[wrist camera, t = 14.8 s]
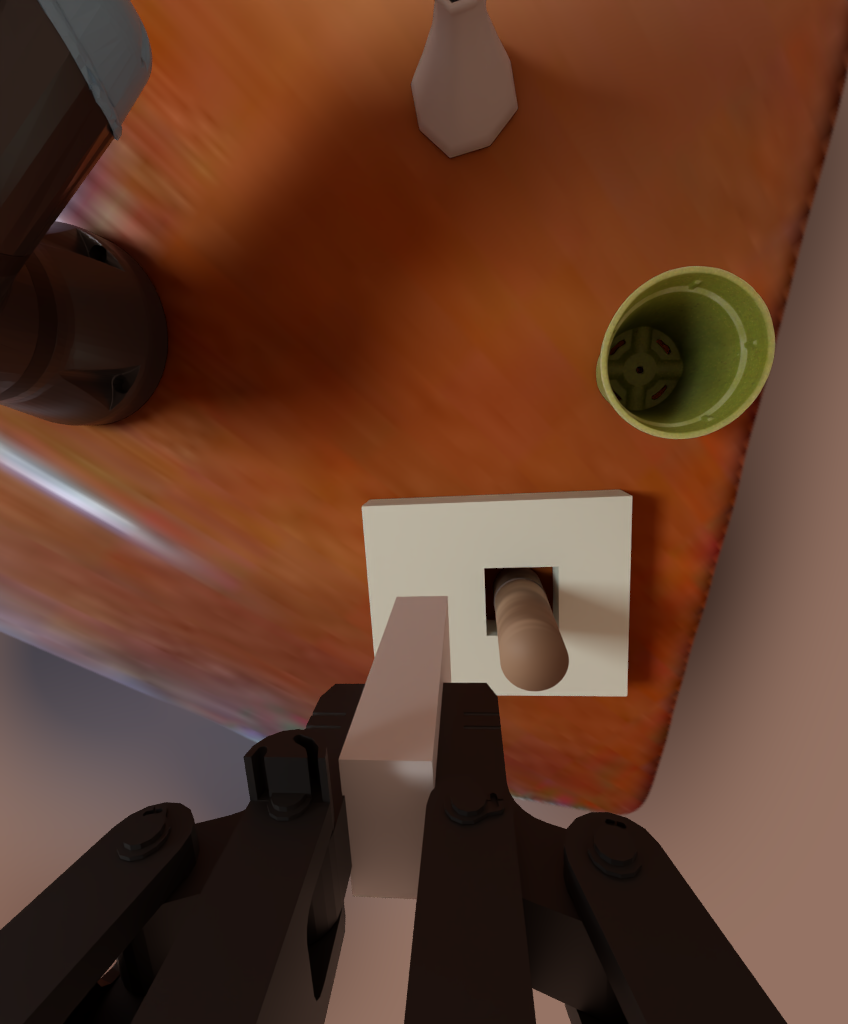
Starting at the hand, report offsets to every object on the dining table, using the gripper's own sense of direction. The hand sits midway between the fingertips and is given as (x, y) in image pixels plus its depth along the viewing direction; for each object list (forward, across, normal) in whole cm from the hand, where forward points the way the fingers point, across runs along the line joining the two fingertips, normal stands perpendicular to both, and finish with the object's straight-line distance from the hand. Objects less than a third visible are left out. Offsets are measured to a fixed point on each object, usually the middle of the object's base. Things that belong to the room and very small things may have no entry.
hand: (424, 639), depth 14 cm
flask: (+26, +2, +27) cm, 38 cm away
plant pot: (+26, +14, +8) cm, 30 cm away
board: (+25, +3, -9) cm, 27 cm away
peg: (+25, +5, -9) cm, 27 cm away
